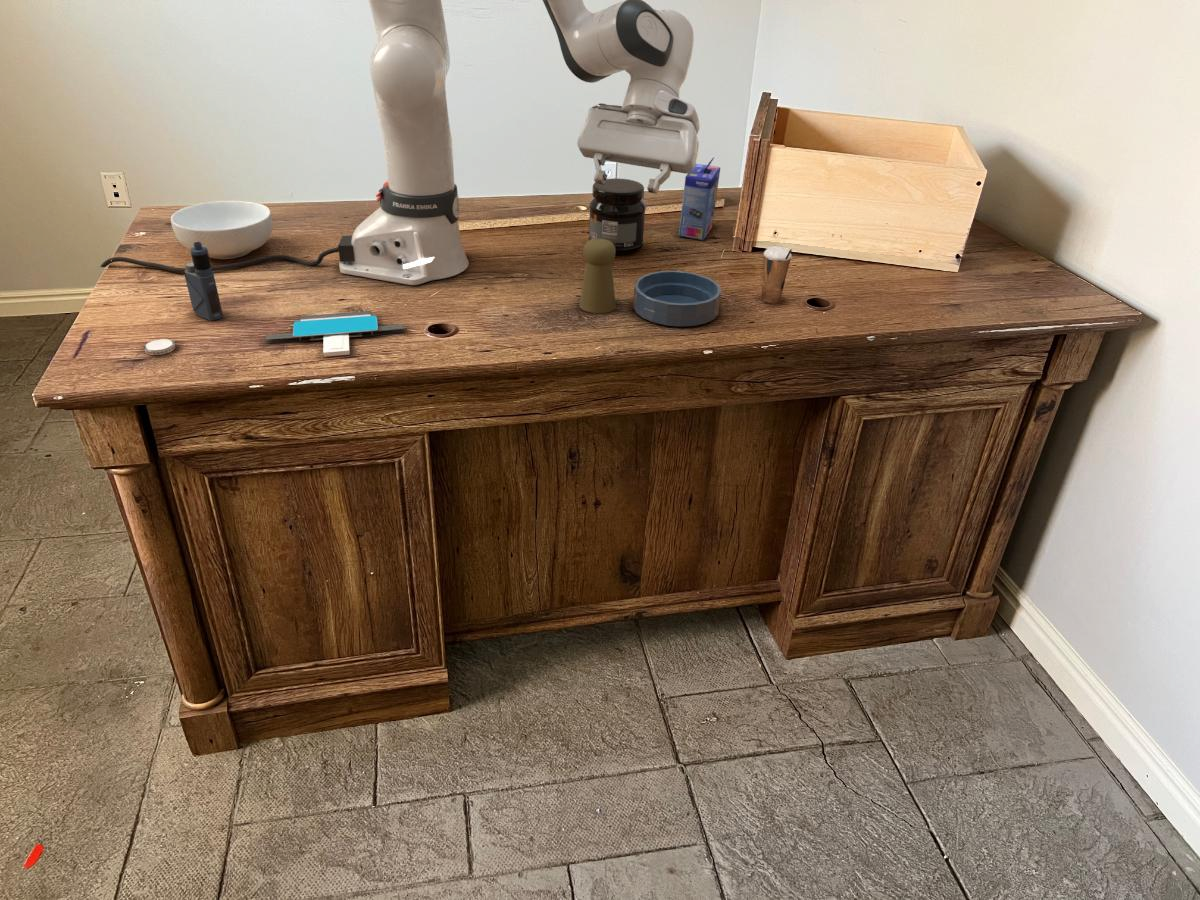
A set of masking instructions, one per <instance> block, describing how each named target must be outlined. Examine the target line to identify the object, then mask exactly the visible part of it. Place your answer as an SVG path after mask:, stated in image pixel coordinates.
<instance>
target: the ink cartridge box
mask: <svg viewBox="0 0 1200 900" xmlns="http://www.w3.org/2000/svg"><path fill="white" fill-rule="evenodd" d="M714 159H715V157H712V158H711V160H710V161H709V162H708V163H707V164H701V163H696V164H695V167H694V169H693V170H692V171H691V172H689V173H688V174H686V175H685V178H684V184H683V185H684V186H683V194H682V195H683V196H682V203H681V213H680V221H679V230H678V237H682V238H688V239H694V240H699V241H704V240H705V238H706V237H707V235H708V234H709V233H710V231H711V229H712V228H713V223H714V217H715V211H716V204H717V196H718V189H719V182H720V175H721V174H720V173H721V167H719V166H714V165H711V164H712V162H713V161H714Z"/></svg>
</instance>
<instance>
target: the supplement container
mask: <svg viewBox="0 0 1200 900" xmlns="http://www.w3.org/2000/svg"><path fill="white" fill-rule="evenodd" d="M591 193H592V195H591V196H592V198H591V199H590V201H589V203H588V208H589V225H588V227H589V229H588V230H589V231H588V232H589V233H588V234H589V235H588V241H589V240H592V239H606V240H609V241H611V242H612V243H613V244H614V246H615V250H616V252H615V258H616V257H617V258H618V257H628V256H633V255H635V254H637V253H639V252H640V251H641V250H642V249H643V246H644V235H645V234H644V233H645V217H646V210H647V205H646V202H645V200H644V198H645V186H644V185H643V184H642V183H641V182H639V181H637V180H633V179H628V178H617V177H616V178H615V177H614V178H613V177H612V178H606V180H605V184H604V185H603V184H597V183H595V182H594V183H593V184H592V192H591Z"/></svg>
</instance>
